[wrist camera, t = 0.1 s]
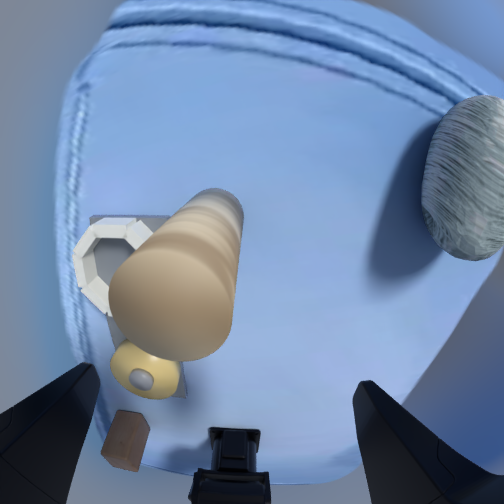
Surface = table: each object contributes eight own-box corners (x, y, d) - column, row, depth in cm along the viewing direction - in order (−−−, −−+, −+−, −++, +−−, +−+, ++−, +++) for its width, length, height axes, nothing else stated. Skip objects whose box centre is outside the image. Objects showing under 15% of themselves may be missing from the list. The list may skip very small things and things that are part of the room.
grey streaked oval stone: (474, 280, 19) (532, 284, 10) (392, 235, 23) (418, 215, 13) (504, 157, 18) (549, 116, 9) (430, 115, 21) (454, 54, 12)
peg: (242, 245, 22) (231, 366, 10) (186, 243, 22) (121, 353, 10) (245, 189, 20) (233, 255, 8) (185, 187, 20) (99, 248, 8)
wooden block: (142, 412, 30) (126, 460, 23) (151, 428, 32) (138, 473, 24) (116, 408, 30) (98, 453, 23) (126, 424, 32) (112, 467, 24)
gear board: (187, 393, 28) (181, 417, 25) (122, 382, 28) (113, 404, 25) (169, 215, 21) (155, 229, 18) (85, 215, 21) (61, 227, 17)
